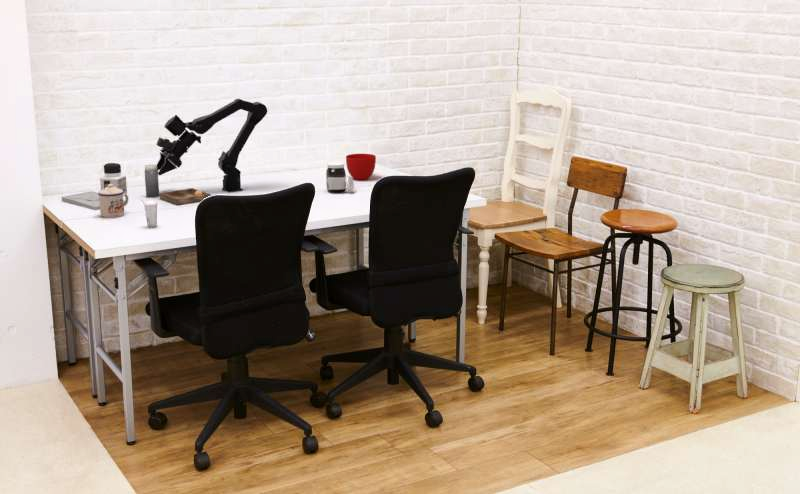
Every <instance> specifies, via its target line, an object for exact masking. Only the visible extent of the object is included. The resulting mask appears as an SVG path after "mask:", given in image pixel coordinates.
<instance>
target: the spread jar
mask: <svg viewBox="0 0 800 494" xmlns="http://www.w3.org/2000/svg"><path fill="white" fill-rule="evenodd" d="M326 166H327V168H326V171H325V172H326V173H325V179H326V180H325V182H326V183H325V185H326V191H327V192H328V193H330V194H341V193H342V194H343V193H344V192H346V190H348V192H349V193H350V194H351V193H354V192H355V191H356V187H355V183H354V179H353V177H352V176H351V175H350V176H349V175H348V176H347V175H346V173H347V172H346V170H345V163H344V162H339V161H332V162H328V163H327V165H326Z"/></svg>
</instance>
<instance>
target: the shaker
mask: <svg viewBox="0 0 800 494" xmlns="http://www.w3.org/2000/svg"><path fill="white" fill-rule="evenodd" d="M158 172H159V170H157V164H146V165H144V181H145V182H144V184H145V185H144V186H145V197H146V198H149V199H153V198H160V195H159V193H160V189H159V187H160V185H159V175H158Z"/></svg>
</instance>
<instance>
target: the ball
mask: <svg viewBox="0 0 800 494" xmlns="http://www.w3.org/2000/svg"><path fill="white" fill-rule="evenodd" d="M201 191H202V190H199V191H196V192H195V196H198V195H203V193H202V192H203V191H202V192H201Z"/></svg>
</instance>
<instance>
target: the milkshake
mask: <svg viewBox="0 0 800 494" xmlns="http://www.w3.org/2000/svg"><path fill="white" fill-rule="evenodd" d="M141 201H142V202H143V206H144V211H145V217H146V224H147V225H146V226H147V227H148V228H154V227H155V228H156V227H157V226H158V202H156V201H155V200H147V201H146V202H144V200H143V199H141Z"/></svg>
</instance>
